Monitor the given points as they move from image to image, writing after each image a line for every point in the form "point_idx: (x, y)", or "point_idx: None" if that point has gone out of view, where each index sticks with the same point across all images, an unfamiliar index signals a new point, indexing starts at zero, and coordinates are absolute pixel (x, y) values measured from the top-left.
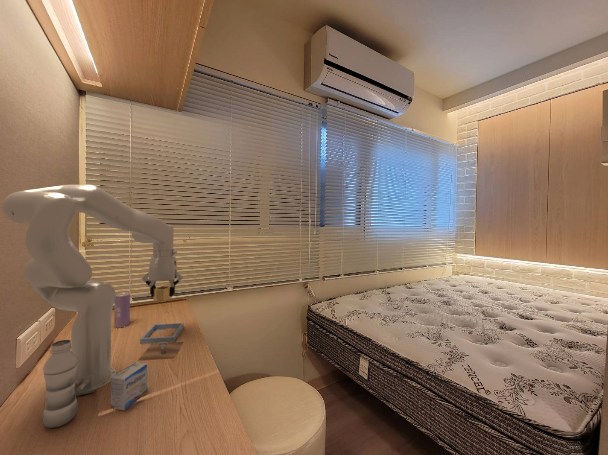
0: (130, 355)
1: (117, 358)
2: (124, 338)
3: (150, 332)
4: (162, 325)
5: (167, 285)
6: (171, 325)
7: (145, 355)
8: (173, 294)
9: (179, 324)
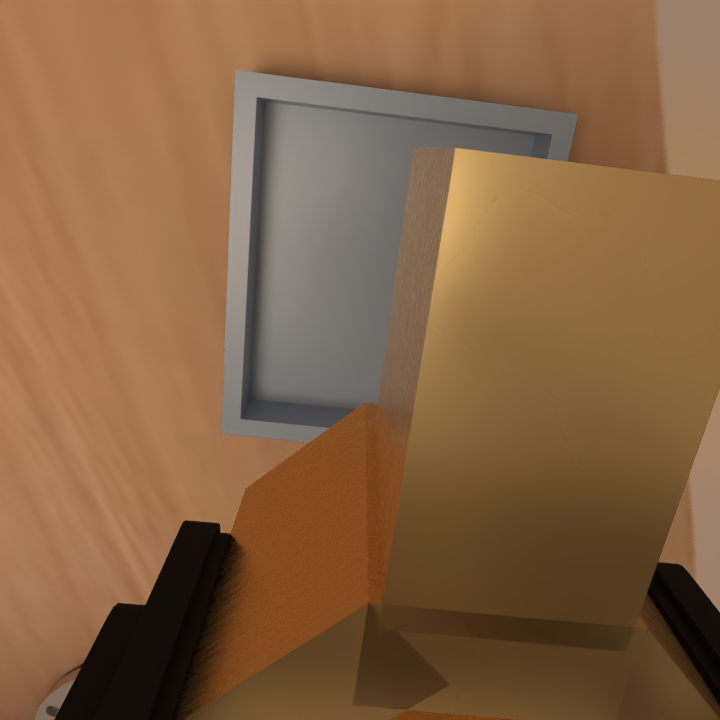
0: (220, 522)
1: (152, 542)
2: (30, 216)
3: (253, 245)
4: (338, 108)
5: (596, 554)
6: (438, 121)
7: None
8: (671, 572)
9: (528, 132)
